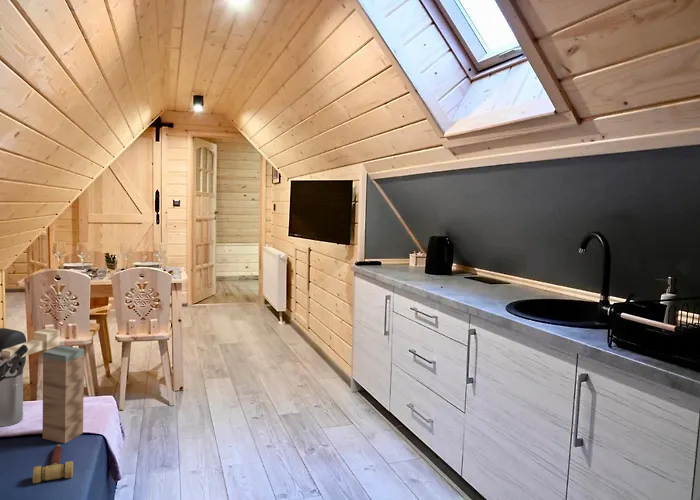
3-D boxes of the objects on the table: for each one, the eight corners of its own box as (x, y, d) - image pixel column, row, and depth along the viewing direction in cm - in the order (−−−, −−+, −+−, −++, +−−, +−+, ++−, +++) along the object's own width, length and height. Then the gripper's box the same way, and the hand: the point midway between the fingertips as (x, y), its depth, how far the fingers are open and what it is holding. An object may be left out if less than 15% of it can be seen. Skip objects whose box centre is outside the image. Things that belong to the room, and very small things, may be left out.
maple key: (13, 362, 148) (13, 345, 147) (-1, 359, 149) (-1, 342, 149) (59, 345, 164) (59, 330, 164) (46, 342, 166) (46, 327, 165)
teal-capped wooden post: (64, 443, 169) (66, 356, 166) (42, 438, 172) (43, 352, 168) (82, 432, 177) (84, 349, 174) (61, 428, 179) (62, 345, 176)
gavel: (40, 441, 164) (76, 436, 169) (40, 454, 165) (75, 450, 169) (32, 471, 146) (72, 465, 150) (32, 486, 146) (72, 480, 150)
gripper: (-40, 395, 144) (7, 350, 157) (0, 405, 140) (45, 358, 154) (-54, 378, 139) (-4, 333, 152) (-13, 387, 136) (35, 340, 149)
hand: (20, 346), depth 153 cm, fingers closed on maple key, 3 cm apart
